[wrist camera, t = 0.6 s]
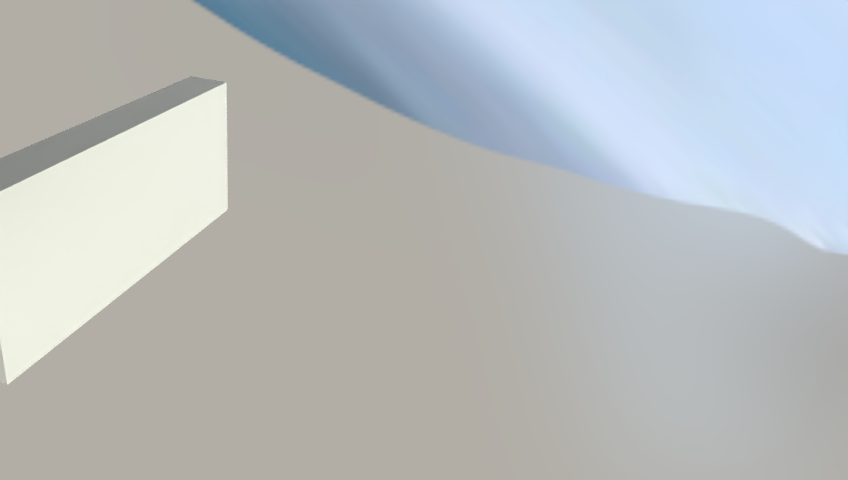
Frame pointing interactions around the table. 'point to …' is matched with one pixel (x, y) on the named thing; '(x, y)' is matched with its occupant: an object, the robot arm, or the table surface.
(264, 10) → the table surface
